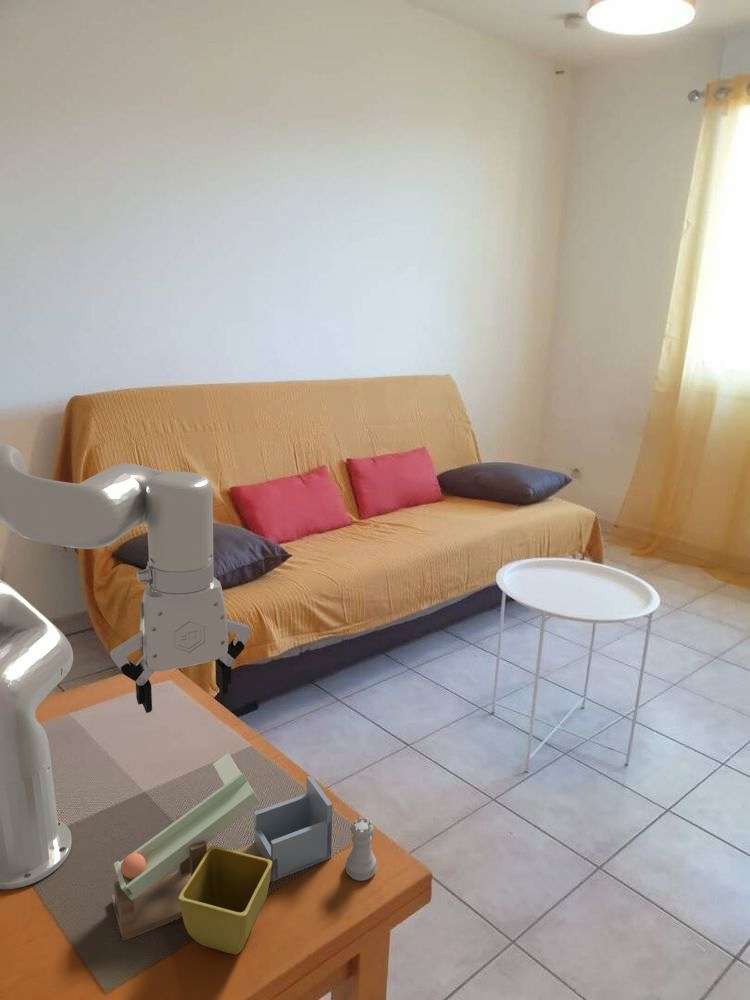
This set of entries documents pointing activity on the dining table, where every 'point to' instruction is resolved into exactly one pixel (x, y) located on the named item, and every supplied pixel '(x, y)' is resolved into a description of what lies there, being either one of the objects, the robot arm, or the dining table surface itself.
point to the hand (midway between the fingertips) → (185, 697)
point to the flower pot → (225, 898)
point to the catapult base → (161, 895)
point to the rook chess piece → (361, 851)
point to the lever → (192, 828)
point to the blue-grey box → (295, 831)
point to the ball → (133, 866)
